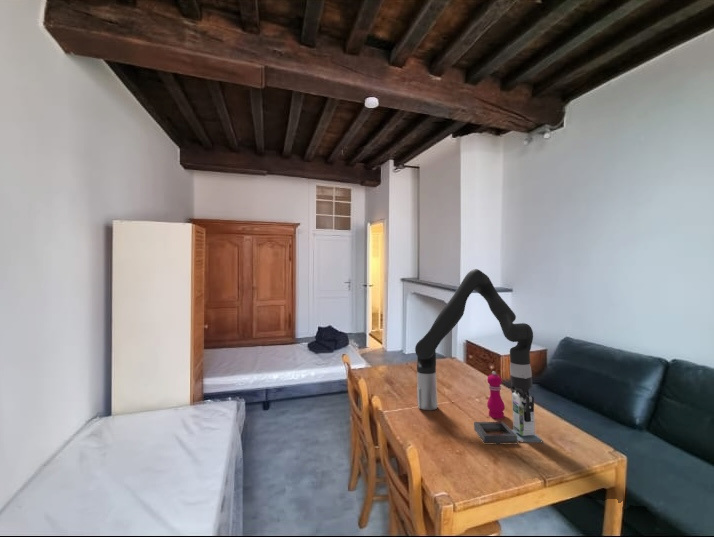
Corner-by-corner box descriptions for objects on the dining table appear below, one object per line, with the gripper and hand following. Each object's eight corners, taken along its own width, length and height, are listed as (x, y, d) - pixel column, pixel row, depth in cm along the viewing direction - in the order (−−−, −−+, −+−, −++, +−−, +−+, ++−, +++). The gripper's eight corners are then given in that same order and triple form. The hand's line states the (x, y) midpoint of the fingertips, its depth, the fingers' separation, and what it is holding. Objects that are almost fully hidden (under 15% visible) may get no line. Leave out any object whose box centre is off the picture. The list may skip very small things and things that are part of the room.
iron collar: (484, 444, 114) (484, 435, 114) (474, 429, 126) (473, 421, 126) (517, 444, 113) (516, 435, 114) (503, 429, 125) (503, 421, 126)
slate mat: (518, 442, 115) (518, 440, 115) (508, 431, 124) (507, 429, 124) (542, 442, 114) (542, 440, 114) (530, 431, 123) (530, 429, 123)
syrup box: (512, 429, 122) (510, 392, 123) (526, 428, 123) (524, 391, 123) (521, 436, 116) (519, 397, 117) (536, 435, 117) (534, 396, 118)
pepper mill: (491, 411, 143) (489, 368, 145) (507, 415, 138) (505, 371, 140) (485, 416, 138) (482, 371, 140) (501, 421, 133) (499, 374, 134)
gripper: (503, 369, 128) (505, 410, 127) (519, 379, 114) (522, 426, 113) (521, 369, 128) (524, 410, 127) (540, 379, 113) (543, 426, 112)
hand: (523, 417), depth 120 cm, fingers closed on syrup box, 6 cm apart
